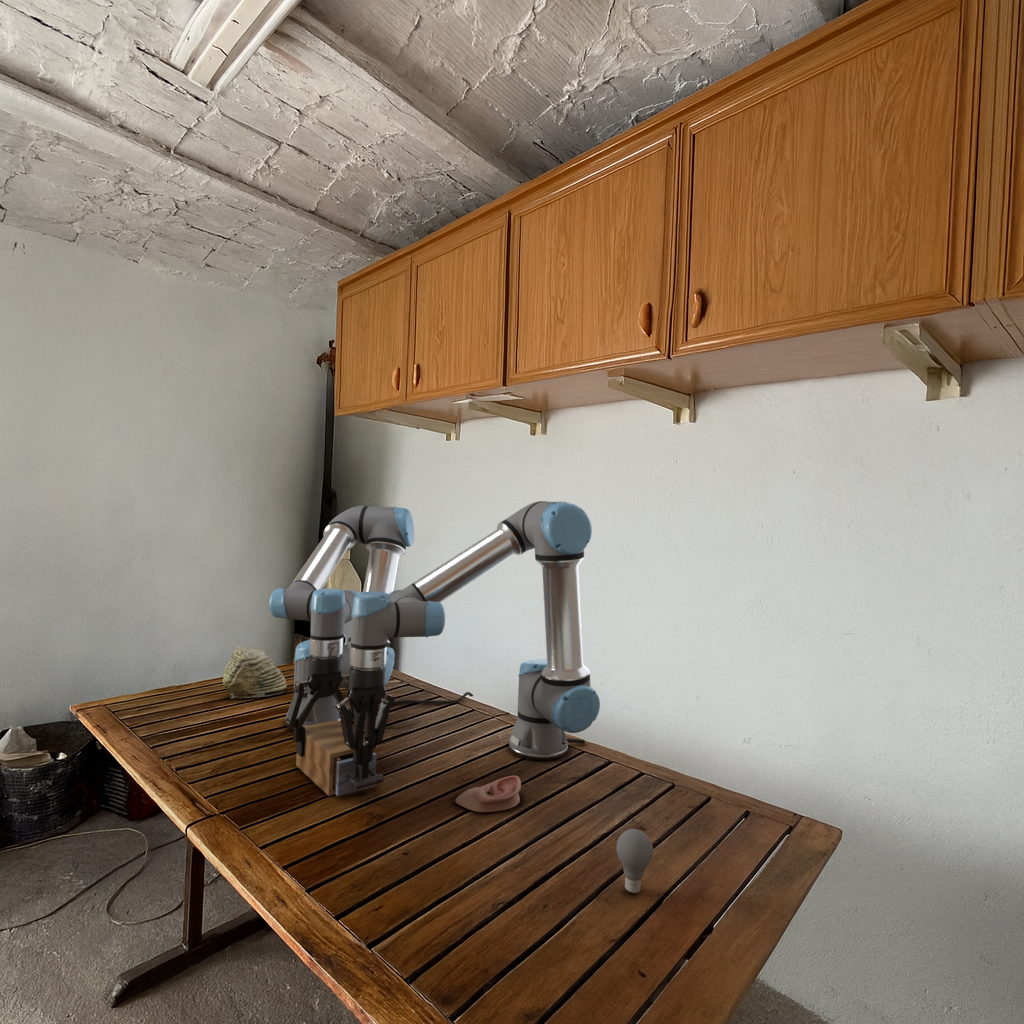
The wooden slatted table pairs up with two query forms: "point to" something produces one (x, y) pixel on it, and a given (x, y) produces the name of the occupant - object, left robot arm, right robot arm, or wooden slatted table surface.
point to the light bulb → (634, 857)
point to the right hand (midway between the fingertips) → (361, 778)
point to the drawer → (353, 775)
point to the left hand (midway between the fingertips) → (322, 749)
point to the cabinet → (322, 753)
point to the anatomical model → (492, 795)
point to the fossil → (252, 674)
